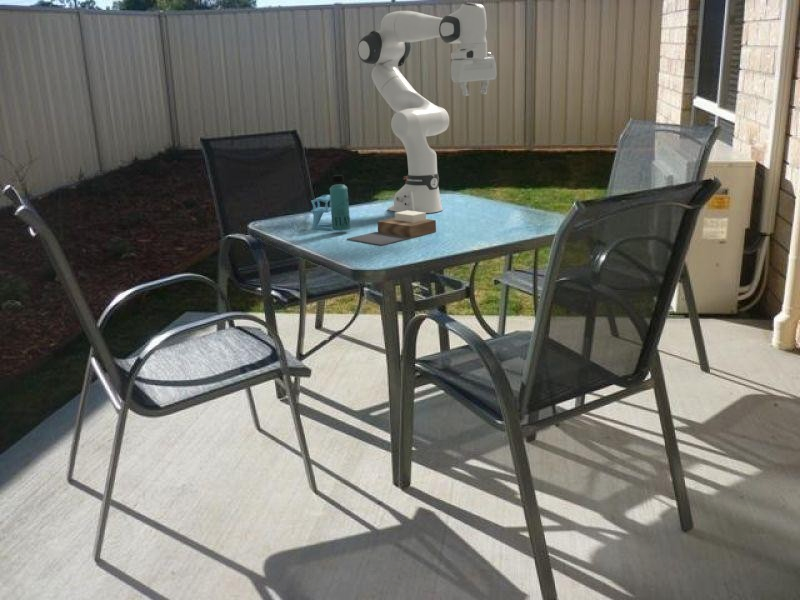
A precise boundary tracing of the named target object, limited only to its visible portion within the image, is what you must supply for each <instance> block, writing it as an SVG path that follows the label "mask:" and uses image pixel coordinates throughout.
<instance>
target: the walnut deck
mask: <svg viewBox="0 0 800 600" xmlns="http://www.w3.org/2000/svg"><path fill="white" fill-rule="evenodd" d="M376 221H377V220H376ZM436 221H437V220H435V219H429V218H426V220H423V221H418V222H414V223H413V222H406V221H399V220H395V216H394V217H391V218H386V219H381V220H378V221H377V232H380V233H386V234H393V235H399V236H405V237H411V239H413V238H417V237H422V236H425V235H429V234H433V233H436V232H437V226H436V225H437V222H436Z"/></svg>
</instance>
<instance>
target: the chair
mask: <svg viewBox="0 0 800 600" xmlns="http://www.w3.org/2000/svg"><path fill="white" fill-rule="evenodd" d="M310 202H311V204H312V209H311V210H310V212H311V214H312V215H313V217H312V218H313V220H312V224H311V225H312V226H311V229H312V230H320V231H322V230H323V231H334V230H333V228H332V223H326V224H325V223H324V224H320V222H321V219H322V217H323V215H324V213H331V200H330V194H322V195H320V196H319V197H316V198H314V199H313V200H310ZM320 202H323V203H325V205H324V206H321V203H320ZM328 202H329V206H328ZM315 203H317V207H316V205H315Z"/></svg>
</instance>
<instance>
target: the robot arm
mask: <svg viewBox="0 0 800 600" xmlns="http://www.w3.org/2000/svg"><path fill="white" fill-rule="evenodd" d="M487 21H488V20H487V13H486V8H485V6H484V5H483V4H482V3H479V2H464V3H462V4H461V5H460V7H459V8H458V9H457V10H455V11H454V12H452V13H450V14H449V15H445V16H444V17H438V16H434V15H430V14H425V13H422V12H419V11H418V12H417V11H412V10H396V11H392V12H389V13H386V14H385V15H384V16H383V18H382V19H381V22H380V29H379V30H377V31H376V30H372V31H371V32H369V33H368V34H366V35H364V36H363V37H362V38H361V39H359V41H358V44H357V54H358V57H359V59H360V60H361V62H362V63H365V64H368V65H375V66H374V67H373V69H372V71H371V80H372V81H373V84H374V86H375V88H376V89H377V91H378V92H379V94H380V95H381V96H382V98H383V99H384V100H385V102H386V103H387V105H388V106H389V107H390V108H391V110H392V111H394V112H395V113H394V114H393V115H392V118H391V121H390V126H391V130H392V133H393V135H395V136H396V137H397V138H398V139H399V140H400V141H401V143H402V144H403V147H404V150H405V153H406V157H407V170H408V173H407V175H405V176H403V180H405V184H404V185H402V187H401V188H399V190H398V191H396V192H395V194H394V196H393V205H390V206H389V207H387V210H388V211H391V212H394V213H397V212H402V211H406V210H409V211H417V212H424V213H426V214H432V213H438V212H441V211H443V210H444V208H443V204H442V200H441V194H440V188H439V183H440V182H439V181H440V177H439V173H438V159H437V158H438V157H437V153H436V150H434V149H433V148H432V147H430V146H429V143H428V140H427V137H431V136H432V137H433V136H437V135H440V134H442V133H444V132H446V131H447V130H448V128H449V126H450V116H449V113H448V111H447V110H446V109H445V108H444V107H441V106H439V105H436V104H434V103H432V102H431V101H430V100H428V99H426V98H425V97H424V96H423V95H421V94H420V93H419V92H417V91H416V90H415V88H414V87H413V86H412V85H411V84H410V83H409V81H408V80H407V79H406V78H405V76H404V75H403V74H402V72H401V71H400V69H399V67H401V66H403V65H404V64H405V62H406V60H407V58H408V57H409V55H410V52H411V48H412V47H411V46H412V45H411V43H417V42H422V41H427V40H433V39H437V38H440V39H441V40H442V41H443V42H444V43H445V44H449V45H450V44H451V45H458V44H459V45H460V47H459V48H458V49H456V50H455V51H452V52H451V53H450V59H451V62H450V78H451V81H452V82H453V83H459V88H461V92H462V93H461V94H462V96H463V97H464V96H465V97H467V96H469V95H470V89H468V88H467V85H468V83H469V82H478V81H481V84H482V86H481V88H480V94H481V95H487V93H488V87H489V85H490V81H492V80H496V78H497V76H498V75H497V63H496V60H495V55H494V54H493V53H492V52H490V51H489V52H488V40H487V37H486V36H487V33H488V24H487V23H488V22H487Z"/></svg>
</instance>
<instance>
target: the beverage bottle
mask: <svg viewBox="0 0 800 600" xmlns="http://www.w3.org/2000/svg"><path fill="white" fill-rule="evenodd" d="M344 181H345V178H344V175H343V174H335V175H332V176H331V182H332V183H338V184H333V185H331V186H330V188H329V195H330V200H331V211H330V215H331V224H332V228H333V230H332V231H347V230H350V229H351V218H350V214H351V213H350V211H351V210H350V200H349V192H348V186H347V185H345V184H342V182H344ZM340 182H341V183H340ZM339 183H340V184H339ZM330 200H329V201H330Z"/></svg>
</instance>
